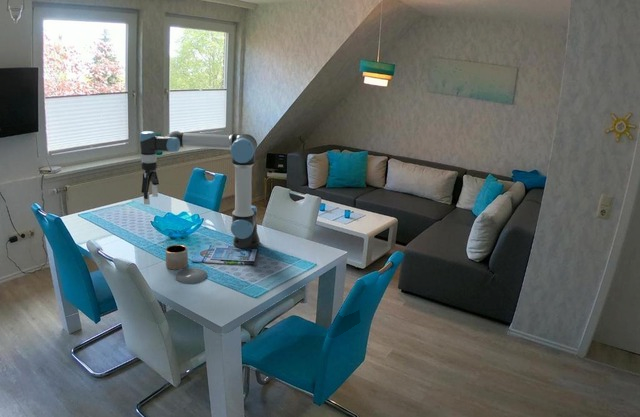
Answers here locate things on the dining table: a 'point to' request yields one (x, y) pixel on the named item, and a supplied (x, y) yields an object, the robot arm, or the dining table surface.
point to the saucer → (191, 275)
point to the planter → (176, 257)
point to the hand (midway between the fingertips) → (151, 200)
